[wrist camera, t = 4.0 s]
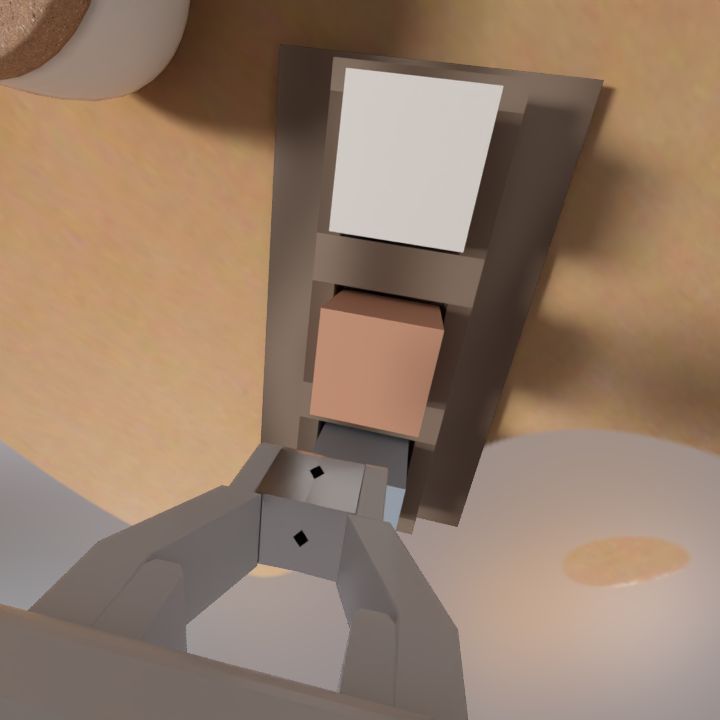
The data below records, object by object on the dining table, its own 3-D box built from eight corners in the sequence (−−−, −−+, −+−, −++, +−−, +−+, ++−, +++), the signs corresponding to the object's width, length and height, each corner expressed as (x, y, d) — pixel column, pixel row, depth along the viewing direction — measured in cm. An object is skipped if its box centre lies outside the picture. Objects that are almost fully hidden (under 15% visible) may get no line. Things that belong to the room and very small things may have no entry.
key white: (481, 124, 13) (503, 85, 10) (453, 245, 15) (463, 252, 11) (366, 109, 14) (345, 67, 10) (351, 229, 15) (328, 231, 12)
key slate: (408, 437, 19) (405, 489, 15) (393, 502, 20) (387, 564, 17) (327, 419, 19) (304, 466, 15) (318, 484, 21) (296, 541, 17)
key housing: (596, 85, 14) (638, 52, 11) (456, 519, 23) (461, 560, 20) (284, 50, 16) (254, 12, 13) (262, 474, 24) (242, 506, 21)
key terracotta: (439, 305, 16) (444, 330, 12) (419, 392, 18) (418, 437, 14) (343, 289, 16) (320, 307, 13) (332, 375, 18) (309, 414, 14)
